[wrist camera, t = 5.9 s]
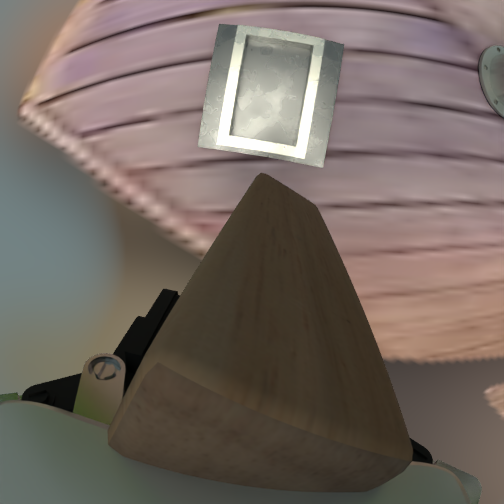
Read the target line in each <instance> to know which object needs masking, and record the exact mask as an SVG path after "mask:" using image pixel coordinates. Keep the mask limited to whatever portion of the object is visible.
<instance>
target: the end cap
mask: <svg viewBox="0 0 504 504" xmlns="http://www.w3.org/2000/svg"><path fill="white" fill-rule="evenodd" d="M343 49H344V44H340V43H336V42H332V41H328V40H325V39H322V38H318V37H313V36H308V35H303V34H298V33H293V32H287V31H281V30H275V29H268V28H261V27H253V26H244V25H227V24H219V27H218V32H217V37H216V42H215V47H214V52H213V57H212V62H211V68H210V73H209V79H208V84H207V90H206V96H205V102H204V108H203V114H202V121H201V127H200V134H199V141H198V147H202V148H210V149H218V150H225V151H232V152H238V153H245V154H251V155H257V156H263V157H269V158H275V159H280V160H286V161H291V162H296V163H301V164H306V165H311V166H316V167H321V168H323V164H324V159H325V153H326V148H327V143H328V138H329V133H330V127H331V122H332V116H333V110H334V105H335V99H336V93H337V87H338V81H339V75H340V68H341V62H342V55H343Z"/></svg>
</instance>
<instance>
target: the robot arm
mask: <svg viewBox="0 0 504 504" xmlns="http://www.w3.org/2000/svg"><path fill="white" fill-rule="evenodd" d="M479 77H480V82H481V86H482V89H483V92H484V94H485V96H486V98H487V100H488V102H489V104H490V105H491V106H492V108H493V109H494V110H495V111H496V112H497V113H498V114H499V115H500V116H502V117H503V118H504V47H502V46H496V45H495V46H491V47H489V48H486V49H485V50H484V51H483V53H482V55H481V57H480V61H479ZM179 297H180V295H178V292H177V291H172V290H168V289H163V290H162V292H161V293H160V295H159V297H158V298H157V299H156V301H155V303H154V304H153V306H152V307H151V309H150V311H149V312H148V314H147V315H146V317H141V316H138V317H137V318H136V319H135V321H134V322H133V324H132V325H131V327H130V328H129V330H128V331H127V333H126V334H125V336H124V337H123V339H122V341H121V342H120V344H119V345H118V347H117V348H116V350H115V352H114V353H113V354H107V353H106V354H97V355H94V356H92V357H90V358H89V359H88V360H87V361H86V362H85V364H84V367H83V371H82V373H80V374H76V375H73V376H69V377H65V378H61V379H57V380H53V381H49V382H45V383H41V384H37V385H34V386H31V387H29V388H28V389H27V390H26V391H25V392H24V393H23V395H20V396H19V395H18V393H9V394H2V395H0V504H478V502H479V499H480V495H481V490H482V487H481V484H480V482H479V480H478V479H477V478H476V477H474V476H472V475H470V474H468V473H466V472H464V471H461V470H459V469H457V468H455V467H453V466H451V465H448V464H446V463H444V462H442V461H440V460H437V461H436V462H435V461H433V459H432V456H431V454H430V452H429V451H428V450H427V449H426V448H425V447H423V446H422V445H420V444H419V443H417V442H415V441H414V440H412V439H411V438H410V441H411V445H412V448H413V456H412V462H411V463H410V465H409V466H408V467H407V468H406V469H405V471H404V472H402V473H401V474H399V475H397V476H396V477H394V478H393V479H391V480H389V481H388V482H386V483H384V484H383V485H381V486H379V487H376V488H374V489H372V490H369V491H367V492H300V491H285V490H274V489H264V488H256V487H249V486H242V485H235V484H229V483H223V482H218V481H213V480H207V479H203V478H198V477H194V476H189V475H185V474H181V473H177V472H173V471H169V470H165V469H162V468H158V467H155V466H151V465H148V464H145V463H142V462H138V461H135V460H132V459H129V458H126V457H123V456H122V455H120V454H119V453H118V452H116V451H115V450H114V449H113V448H111V447H110V446H109V445H108V428H109V426H110V424H111V422H112V420H113V418H114V416H115V414H116V412H117V410H118V408H119V406H120V404H121V401H122V399H123V397H124V395H125V393H126V391H127V389H128V387H129V385H130V383H131V381H132V379H133V377H134V375H135V373H136V371H137V369H138V367H139V366H140V364H141V362H142V360H143V358H144V356H145V354H146V352H147V350H148V349H149V347H150V345H151V344H152V342H153V340H154V339H155V337H156V335H157V333H158V332H159V330H160V328H161V327H162V325H163V323H164V322H165V320H166V318H167V317H168V315H169V313H170V312H171V310H172V309H173V307H174V305H175V304H176V302H177V300H178V299H179Z"/></svg>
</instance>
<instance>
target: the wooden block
mask: <svg viewBox="0 0 504 504" xmlns="http://www.w3.org/2000/svg"><path fill="white" fill-rule="evenodd" d="M108 445H109V446H110V447H111V448H113V449H114V450H115V451H116V452H118V453H119V454H120V455H122V456H123V457H126V458H129V459H132V460H135V461H138V462H142V463H145V464H148V465H151V466H155V467H158V468H162V469H165V470H169V471H173V472H177V473H181V474H185V475H189V476H194V477H198V478H203V479H207V480H213V481H218V482H223V483H229V484H235V485H242V486H249V487H256V488H264V489H274V490H285V491H300V492H367V491H369V490H372V489H374V488H376V487H379V486H381V485H383V484H384V483H386V482H388V481H389V480H391V479H393V478H394V477H396V476H397V475H399V474H401V473H402V472H404V471H405V469H406V468H407V467H408V466H409V465H410V463H411V462H412V456H413V448H412V445H411V441H410V438H409V435H408V432H407V428H406V425H405V422H404V419H403V416H402V413H401V410H400V407H399V404H398V401H397V398H396V395H395V392H394V389H393V386H392V384H391V381H390V378H389V375H388V372H387V370H386V367H385V364H384V361H383V359H382V356H381V353H380V351H379V348H378V345H377V343H376V340H375V338H374V335H373V333H372V330H371V328H370V325H369V323H368V320H367V318H366V315H365V313H364V310H363V308H362V305H361V303H360V301H359V298H358V296H357V293H356V291H355V289H354V286H353V284H352V282H351V279H350V277H349V275H348V273H347V270H346V268H345V266H344V264H343V261H342V259H341V257H340V255H339V252H338V250H337V248H336V246H335V244H334V242H333V239H332V237H331V235H330V233H329V231H328V229H327V226H326V224H325V222H324V220H323V218H322V216H321V214H320V212H319V210H318V208H317V207H316V205H315V204H313V203H312V202H310V201H309V200H307V199H305V198H304V197H302V196H301V195H299V194H298V193H296V192H295V191H293V190H291V189H290V188H288V187H287V186H285V185H283V184H282V183H280V182H279V181H277V180H275V179H274V178H272V177H270V176H269V175H267V174H264V173H260V174H259V175H257V177H256V178H255V180H254V181H253V183H252V184H251V186H250V187H249V189H248V190H247V192H246V193H245V195H244V196H243V198H242V199H241V201H240V202H239V204H238V205H237V207H236V208H235V210H234V212H233V213H232V215H231V216H230V218H229V219H228V221H227V222H226V224H225V225H224V227H223V229H222V230H221V232H220V233H219V235H218V236H217V238H216V239H215V241H214V243H213V244H212V246H211V247H210V249H209V250H208V252H207V254H206V255H205V257H204V258H203V260H202V262H201V263H200V265H199V266H198V268H197V270H196V271H195V273H194V274H193V276H192V278H191V279H190V281H189V283H188V284H187V286H186V287H185V289H184V291H183V292H182V294H181V295H180V297H179V299H178V300H177V302H176V304H175V305H174V307H173V309H172V310H171V312H170V313H169V315H168V317H167V318H166V320H165V322H164V323H163V325H162V327H161V328H160V330H159V332H158V333H157V335H156V337H155V339H154V340H153V342H152V344H151V345H150V347H149V349H148V350H147V352H146V354H145V356H144V358H143V360H142V362H141V364H140V366H139V367H138V369H137V371H136V373H135V375H134V377H133V379H132V381H131V383H130V385H129V387H128V389H127V391H126V393H125V395H124V397H123V399H122V401H121V404H120V406H119V408H118V410H117V412H116V414H115V416H114V418H113V420H112V422H111V424H110V426H109V428H108Z"/></svg>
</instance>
